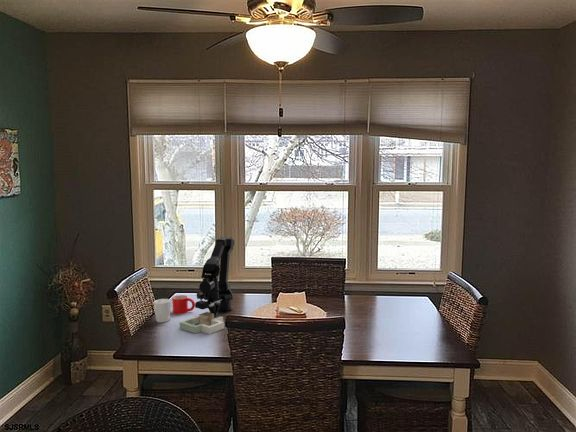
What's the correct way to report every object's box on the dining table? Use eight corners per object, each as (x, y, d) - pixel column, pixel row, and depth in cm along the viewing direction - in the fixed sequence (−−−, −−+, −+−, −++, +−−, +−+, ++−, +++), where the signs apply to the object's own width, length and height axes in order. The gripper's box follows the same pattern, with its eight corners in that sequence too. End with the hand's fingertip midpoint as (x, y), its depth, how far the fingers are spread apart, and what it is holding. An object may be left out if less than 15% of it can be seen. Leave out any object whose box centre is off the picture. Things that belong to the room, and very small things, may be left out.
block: (207, 321, 246) (207, 311, 245) (214, 323, 242) (213, 313, 242) (199, 324, 242) (199, 314, 241) (206, 326, 239) (206, 316, 238)
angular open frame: (207, 318, 250) (207, 312, 250) (231, 325, 239) (231, 319, 238) (179, 328, 237) (179, 322, 236) (203, 336, 225) (203, 329, 225)
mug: (193, 314, 257) (192, 299, 256) (171, 314, 258) (170, 299, 257) (197, 309, 265) (196, 295, 264) (175, 309, 266) (174, 295, 265)
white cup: (166, 323, 244) (165, 303, 243) (152, 322, 246) (151, 303, 244) (173, 318, 252) (172, 299, 250) (159, 317, 253) (158, 298, 252)
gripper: (215, 281, 256) (216, 310, 258) (187, 289, 241) (188, 319, 243) (230, 284, 248) (231, 314, 250) (202, 292, 234) (203, 324, 236)
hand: (213, 318), depth 245 cm, fingers closed
